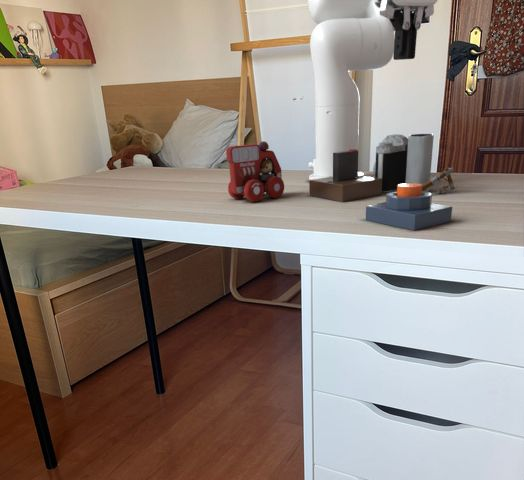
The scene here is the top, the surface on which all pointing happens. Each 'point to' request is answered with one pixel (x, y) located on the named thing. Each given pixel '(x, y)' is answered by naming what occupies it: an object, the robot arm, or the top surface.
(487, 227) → the top surface
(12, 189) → the top surface
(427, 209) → the button box
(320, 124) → the robot arm
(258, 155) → the toy fire truck
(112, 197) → the top surface
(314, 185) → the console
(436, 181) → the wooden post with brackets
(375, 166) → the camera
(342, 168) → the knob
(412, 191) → the button
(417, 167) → the grey hollow tube
